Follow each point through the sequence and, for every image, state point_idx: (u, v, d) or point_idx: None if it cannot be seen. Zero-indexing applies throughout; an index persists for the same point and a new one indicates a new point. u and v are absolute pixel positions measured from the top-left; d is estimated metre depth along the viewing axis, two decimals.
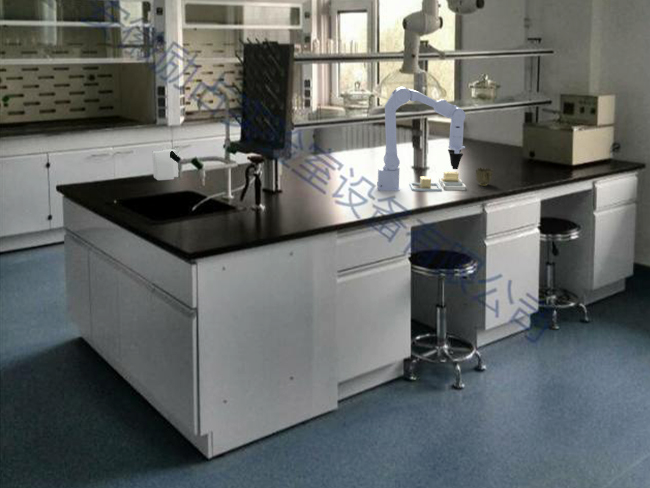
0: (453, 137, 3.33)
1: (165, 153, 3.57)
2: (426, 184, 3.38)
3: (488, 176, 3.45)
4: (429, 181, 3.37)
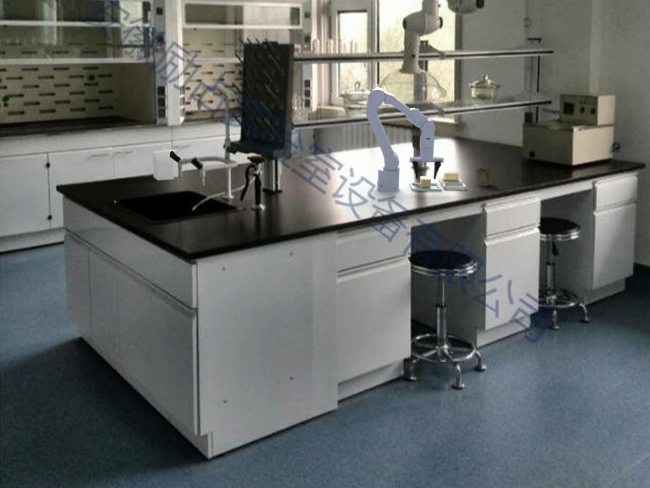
0: None
1: (165, 153, 3.57)
2: (426, 184, 3.38)
3: (488, 176, 3.45)
4: (429, 181, 3.37)
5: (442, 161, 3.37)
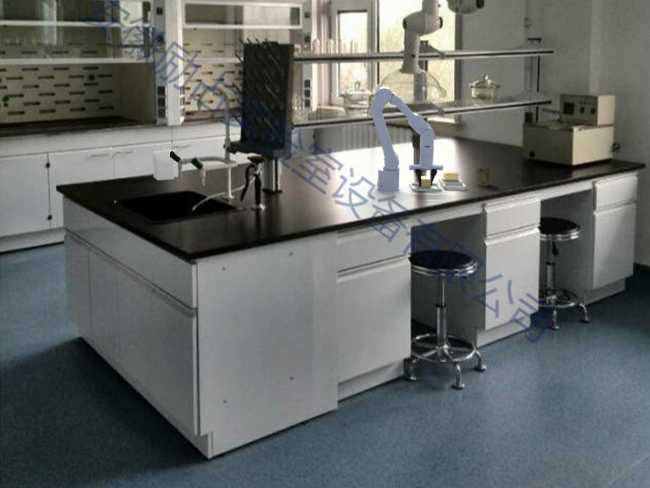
0: None
1: (165, 153, 3.57)
2: (426, 184, 3.38)
3: (488, 176, 3.45)
4: (429, 181, 3.37)
5: (441, 169, 3.38)
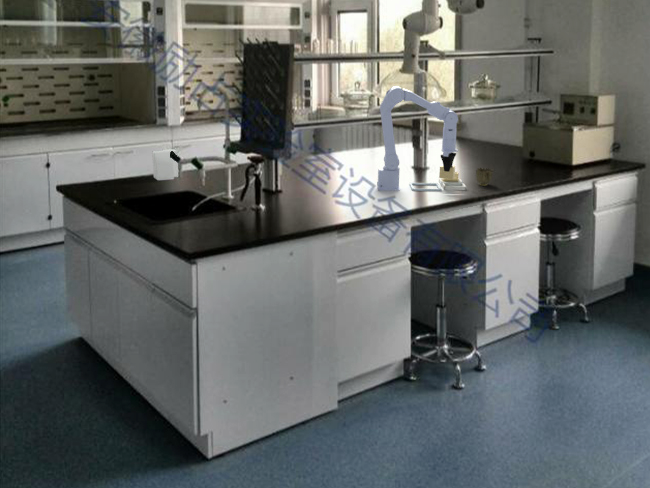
0: (445, 140, 3.34)
1: (165, 153, 3.57)
2: (454, 172, 3.39)
3: (488, 176, 3.45)
4: (454, 168, 3.39)
5: None
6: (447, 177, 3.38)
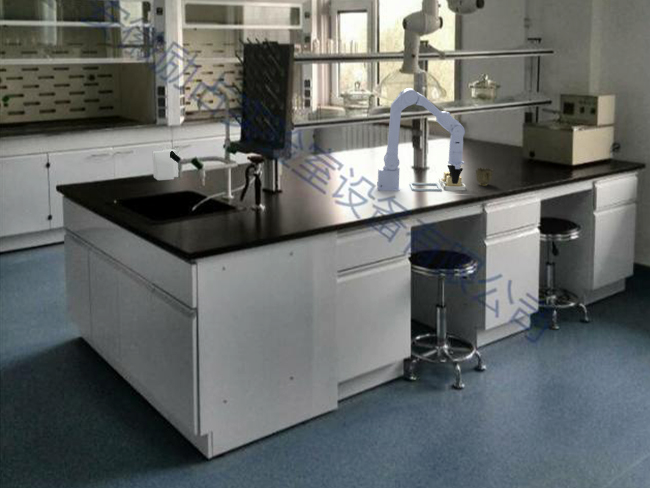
0: (453, 152, 3.35)
1: (165, 153, 3.57)
2: None
3: (488, 176, 3.45)
4: None
5: None
6: None
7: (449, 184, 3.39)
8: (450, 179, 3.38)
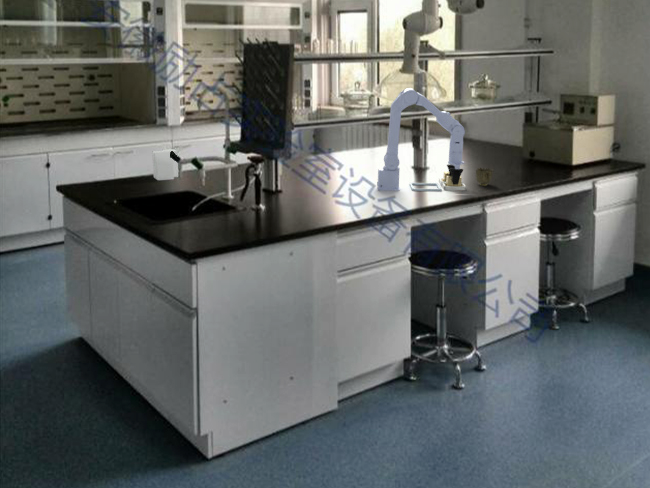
0: (453, 152, 3.35)
1: (165, 153, 3.57)
2: None
3: (488, 176, 3.45)
4: None
5: None
6: None
7: (449, 184, 3.39)
8: (450, 179, 3.38)
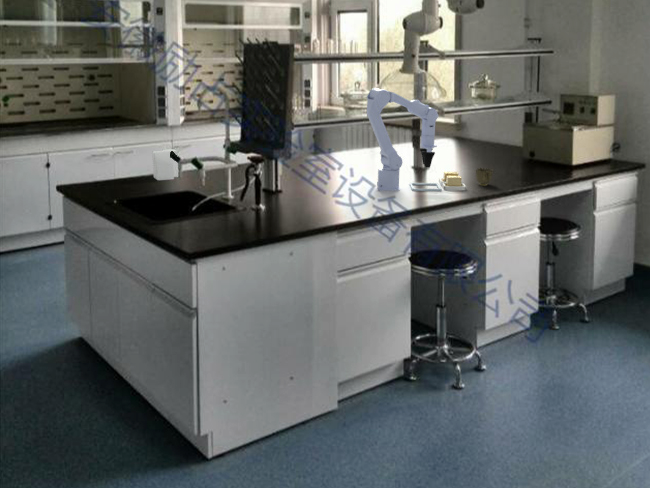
0: (425, 136, 3.39)
1: (165, 153, 3.57)
2: None
3: (488, 176, 3.45)
4: None
5: None
6: None
7: (449, 184, 3.39)
8: (450, 179, 3.38)
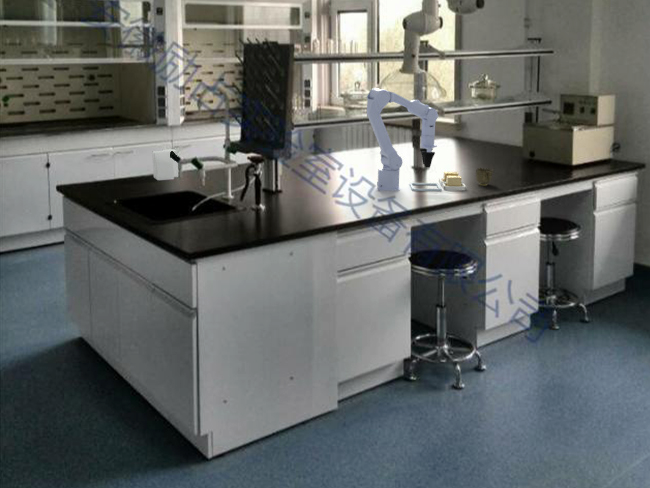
0: (425, 136, 3.39)
1: (165, 153, 3.57)
2: None
3: (488, 176, 3.45)
4: None
5: None
6: None
7: (449, 184, 3.39)
8: (450, 179, 3.38)
